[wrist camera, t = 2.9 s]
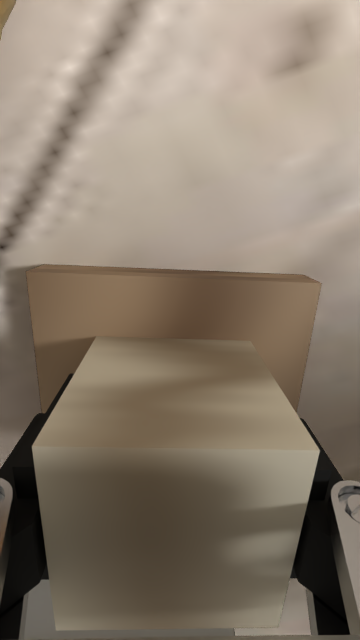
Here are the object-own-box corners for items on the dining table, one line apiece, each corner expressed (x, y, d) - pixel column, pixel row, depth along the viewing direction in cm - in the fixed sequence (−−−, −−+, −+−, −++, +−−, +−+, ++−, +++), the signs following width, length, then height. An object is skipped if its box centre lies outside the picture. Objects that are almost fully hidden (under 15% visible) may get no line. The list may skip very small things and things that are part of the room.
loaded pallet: (303, 274, 11) (466, 350, 5) (268, 474, 14) (344, 676, 8) (43, 264, 11) (-123, 332, 5) (63, 473, 14) (-23, 683, 7)
